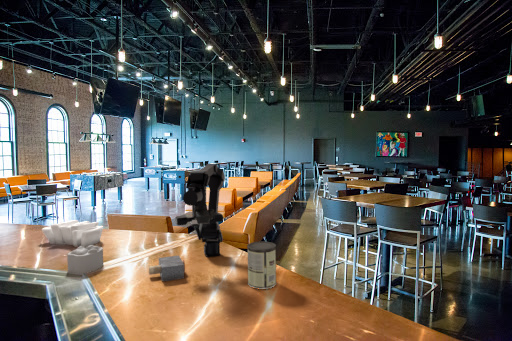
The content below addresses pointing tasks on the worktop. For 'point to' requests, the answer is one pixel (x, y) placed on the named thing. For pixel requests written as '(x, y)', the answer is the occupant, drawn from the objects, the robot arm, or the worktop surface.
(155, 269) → the pin
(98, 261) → the lumpy-topped squat cylinder
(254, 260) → the coffee can
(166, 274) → the block
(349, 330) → the worktop surface
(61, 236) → the wavy white extrusion
